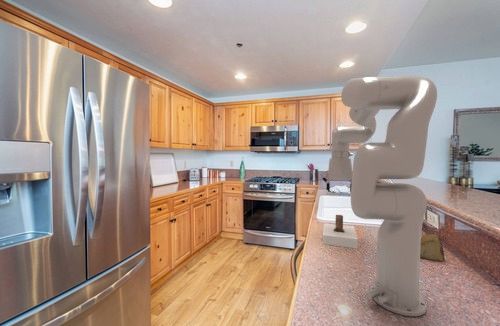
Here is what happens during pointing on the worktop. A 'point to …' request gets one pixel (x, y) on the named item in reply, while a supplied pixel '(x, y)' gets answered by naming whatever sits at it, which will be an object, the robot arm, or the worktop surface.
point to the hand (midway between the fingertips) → (339, 192)
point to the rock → (431, 247)
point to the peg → (339, 223)
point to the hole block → (340, 236)
